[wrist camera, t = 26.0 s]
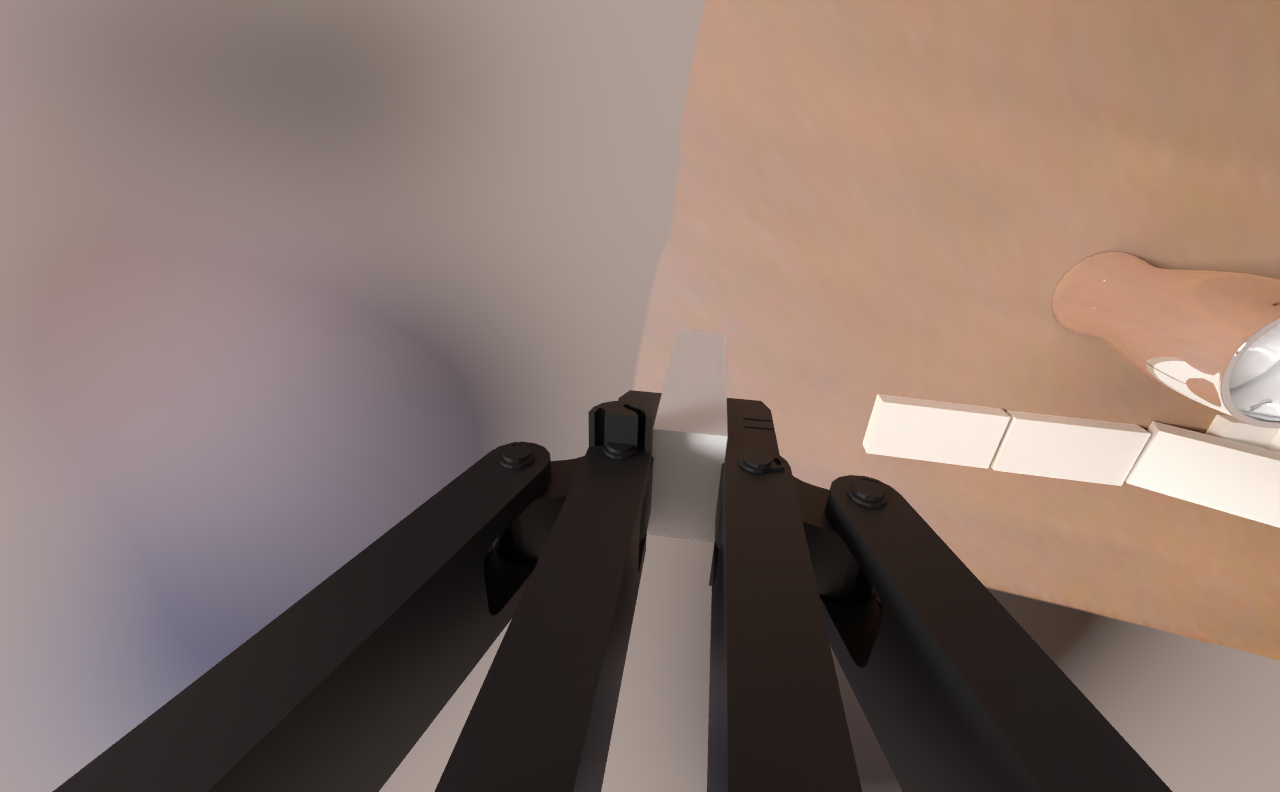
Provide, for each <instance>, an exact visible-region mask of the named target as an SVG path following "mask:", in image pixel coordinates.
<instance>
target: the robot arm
mask: <svg viewBox="0 0 1280 792" xmlns="http://www.w3.org/2000/svg"><path fill="white" fill-rule="evenodd" d="M647 528H648V534H650V535H658V536H666V537H674V538H682V539H691V540H699V541H707V542H714V540H715V543H714V551H713V559H712V567H711V574H710V582H709V585H711V586H712V602H711V642H710V685H709V727H708V728H709V729H708V770H707V792H862V789H861V784H860V780H859V776H858V771H857V766H856V762H855V757H854V753H853V748H852V744H851V739H850V735H849V730H848V726H847V721H846V717H845V712H844V708H843V703H842V698H841V694H840V690H839V685H838V680H837V676H836V671H835V667H834V663H833V657H832V653H831V648H832V650H833V652H834V654H835V656H836V658H837V660H838V662H839V664H840V666H841V668H842V670H843V672H844V674H845V676H846V678H847V680H848V682H849V684H850V686H851V688H852V690H853V692H854V694H855V696H856V698H857V700H858V702H859V704H860V706H861V708H862V710H863V712H864V715H865V717H866V718H867V721H868V723H869V724H870V727H871V729H872V731H873V733H874V735H875V736H876V739H877V741H878V743H879V745H880V747H881V749H882V751H883V753H884V755H885V757H886V759H887V761H888V763H889V765H890V767H891V769H892V771H893V773H894V775H895V777H896V779H897V781H898V783H899V785H900V787H901V789H902V791H903V792H1172V791H1171V790H1170V788H1169V787H1168V786H1167V785H1166V784H1165V783H1164V782H1163V781H1162V780H1161V779H1160V778H1159V776H1158V775H1157V774H1156V773H1155V772H1154V771H1153V770H1152V769H1151V768H1150V767H1149V766H1148V764H1147V763H1146V762H1145V761H1144V760H1143V759H1142V758H1141V757H1140V756H1139V755H1138V754H1137V752H1136V751H1135V750H1134V749H1133V748H1132V747H1131V746H1130V745H1129V744H1128V743H1127V742H1126V741H1125V739H1124V738H1123V737H1122V736H1121V735H1120V734H1119V733H1118V732H1117V731H1116V730H1115V728H1114V727H1113V726H1112V725H1111V724H1110V723H1109V722H1108V721H1107V720H1106V719H1105V718H1104V717H1103V715H1102V714H1101V713H1100V712H1099V711H1098V710H1097V709H1096V708H1095V707H1094V705H1093V704H1092V703H1091V702H1090V701H1089V700H1088V699H1087V698H1086V697H1085V696H1084V694H1083V693H1082V692H1081V691H1080V690H1079V689H1078V688H1077V687H1076V686H1075V685H1074V684H1073V682H1072V681H1071V680H1070V679H1069V678H1068V677H1067V676H1066V675H1065V674H1064V673H1063V672H1062V670H1061V669H1060V668H1058V666H1057V665H1056V664H1055V663H1054V662H1053V661H1052V660H1051V659H1050V657H1049V656H1048V655H1047V654H1046V653H1045V652H1044V651H1043V650H1042V649H1041V648H1040V646H1039V645H1038V644H1037V643H1036V642H1035V641H1034V640H1033V639H1032V638H1031V637H1030V635H1028V633H1027V632H1026V631H1025V630H1024V629H1023V628H1022V627H1021V626H1020V625H1019V623H1018V622H1016V620H1015V619H1014V618H1013V617H1012V616H1011V615H1010V614H1009V613H1008V611H1007V610H1006V609H1005V608H1004V607H1003V606H1002V605H1001V604H1000V603H999V602H998V601H997V599H996V598H995V597H994V596H993V595H992V594H991V593H990V592H989V591H988V590H987V589H986V587H985V586H984V585H983V584H982V583H981V582H980V581H979V580H978V579H977V578H976V576H975V575H974V574H973V573H972V572H971V571H970V570H969V569H968V568H967V567H966V566H965V564H964V563H963V562H962V561H961V560H960V559H959V558H958V557H957V556H956V555H955V554H954V552H953V551H952V550H951V549H950V548H949V547H948V546H947V545H946V544H945V543H944V542H943V540H942V539H941V538H940V537H939V536H938V535H937V534H936V533H935V532H934V531H933V529H932V528H931V527H930V526H929V525H928V524H927V523H926V522H925V521H924V520H923V519H922V517H921V516H920V515H919V514H918V513H917V512H916V511H915V510H914V509H913V508H912V507H911V505H910V504H909V503H908V502H907V501H906V500H905V499H904V498H903V497H902V496H901V495H900V494H899V493H898V492H897V491H896V490H894V489H893V488H892V487H891V486H888V485H886V484H884V483H882V482H880V481H879V480H876V479H873V478H869V477H865V476H853V475H849V476H843V477H839V478H837V479H836V480H834V481H833V482H832V484H831V487H830V490H827V489H824V488H820V487H817V486H814V485H811V484H808V483H805V482H803V481H801V480H799V479H797V478H795V477H794V476H792V472H791V467H790V466H789V464H788V462H787V461H786V460H785V459H784V458H782V457H781V456H780V455H779V450H778V445H777V440H776V434H775V431H774V424H773V419H772V414H771V410H770V409H769V408H768V407H767V406H766V405H765V404H764V403H763V402H761V401H755V400H744V399H733V398H727V394H726V356H725V333H713V332H700V331H687V330H677V334H676V338H675V342H674V346H673V350H672V354H671V358H670V362H669V366H668V371H667V375H666V379H665V383H664V387H663V391H662V393H653V392H642V391H631V390H630V391H628V392H627V393H625V394H624V395H623V396H621V397H620V398H619V399H618V401H612V402H606V403H602V404H599V405H597V406H595V407H593V408H592V409H591V410H590V411H589V448H588V450H587V452H586V455H585V456H583V457H580V458H577V459H570V460H561V461H550V453H549V452H548V451H547V450H546V448H544V447H543V446H540V445H538V444H535V443H527V442H513V443H510V444H506V445H502V446H499V447H498V448H496V449H494V450H492V451H490V452H489V453H488V454H487V455H485V456H484V457H483V458H481V459H480V460H479V461H477V462H476V463H475V464H474V465H472V466H471V467H470V468H468V469H467V470H466V471H465V472H463V473H462V474H461V475H460V476H458V477H457V478H456V479H454V480H453V481H452V482H450V483H449V484H448V485H447V486H445V487H444V488H443V489H442V490H440V491H439V492H438V493H436V494H435V495H434V496H432V497H431V498H430V499H429V500H427V501H426V502H425V503H424V504H422V505H421V506H420V507H418V508H417V509H416V510H415V511H413V512H412V513H411V514H409V515H408V516H407V517H406V518H404V519H403V520H402V521H400V522H399V523H398V524H396V525H395V526H394V527H393V528H391V529H390V530H389V531H387V532H386V533H385V534H384V535H382V536H381V537H380V538H379V539H377V540H376V541H375V542H373V543H372V544H371V545H369V546H368V547H367V548H366V549H364V550H363V551H362V552H360V553H359V554H358V555H357V556H355V557H354V558H353V559H352V560H350V561H349V562H348V563H346V564H345V565H344V566H342V567H341V568H340V569H339V570H337V571H336V572H335V573H333V574H332V575H331V576H330V577H328V578H327V579H326V580H325V581H323V582H322V583H321V584H319V585H318V586H317V587H315V588H314V589H313V590H312V591H310V592H309V593H308V594H306V595H305V596H304V597H303V598H301V599H300V600H299V601H297V602H296V603H295V604H294V605H292V606H291V607H290V608H289V609H287V610H286V611H285V612H283V613H282V614H281V615H279V616H278V617H277V618H276V619H274V620H273V621H272V622H270V623H269V624H268V625H267V626H265V627H264V628H263V629H261V630H260V631H259V632H258V633H256V634H255V635H254V636H252V637H251V638H250V639H249V640H247V641H246V642H245V643H244V644H242V645H241V646H239V647H238V648H237V649H236V650H234V651H233V652H232V653H231V654H229V655H228V656H227V657H226V658H224V659H223V660H222V661H220V662H219V663H218V664H216V665H215V666H214V667H212V668H211V669H210V670H209V671H207V672H206V673H205V674H204V675H202V676H201V677H200V678H198V679H197V680H196V681H195V682H193V683H192V684H191V685H190V686H188V687H187V688H185V689H184V690H183V691H182V692H180V693H179V694H178V695H176V696H175V697H174V698H173V699H171V700H170V701H169V702H167V703H166V704H165V705H164V706H162V707H161V708H160V709H158V710H157V711H156V712H155V713H153V714H152V715H151V716H149V717H148V718H147V719H146V720H145V721H143V722H142V723H141V724H139V725H138V726H137V727H136V728H134V729H133V730H131V731H130V732H129V733H128V734H126V735H125V736H124V737H122V738H121V739H120V740H119V741H118V742H116V743H115V744H113V745H112V746H111V747H110V748H109V749H107V750H106V751H105V752H103V753H102V754H101V755H99V756H98V757H97V758H95V759H94V760H93V761H92V762H90V763H89V764H88V765H86V766H85V767H84V768H83V769H81V770H80V771H79V772H78V773H76V774H75V775H74V776H72V777H71V778H70V779H68V780H67V781H66V782H65V783H63V784H62V785H61V786H59V787H58V788H57V789H56V790H54V791H53V792H379V790H380V789H381V788H382V786H383V785H384V784H385V783H386V781H387V780H388V779H389V778H390V776H391V775H392V774H393V772H394V771H395V770H396V768H397V767H398V766H399V765H400V763H401V762H402V761H403V759H404V758H405V757H406V755H407V754H408V753H409V752H410V750H411V749H412V748H413V746H414V745H415V744H416V742H417V741H418V740H419V738H420V737H421V736H422V735H423V733H424V732H425V731H426V729H427V728H428V727H429V725H430V724H431V723H432V722H433V720H434V719H435V718H436V716H437V715H438V714H439V713H440V711H441V710H442V709H443V707H444V706H445V705H446V703H447V702H448V701H449V700H450V698H451V697H452V695H453V694H454V693H455V692H456V690H457V689H458V688H459V686H460V685H461V684H462V683H463V681H464V680H465V679H466V677H467V676H468V675H469V673H470V672H471V671H472V670H473V668H474V667H475V666H476V664H477V663H478V662H479V660H480V659H481V658H482V657H483V655H484V654H485V653H486V651H487V650H488V649H489V647H490V646H491V645H492V643H493V642H494V641H495V640H496V638H497V637H498V636H499V634H500V633H501V632H502V631H503V629H504V628H505V627H506V625H507V624H508V623H509V621H510V620H511V619H512V620H511V622H510V624H509V627H508V629H507V631H506V633H505V636H504V638H503V640H502V642H501V644H500V647H499V649H498V651H497V653H496V656H495V658H494V660H493V663H492V665H491V667H490V669H489V671H488V674H487V676H486V678H485V680H484V683H483V685H482V687H481V689H480V691H479V694H478V696H477V698H476V701H475V703H474V705H473V707H472V710H471V711H470V714H469V716H468V718H467V720H466V723H465V725H464V727H463V729H462V732H461V734H460V736H459V738H458V741H457V743H456V745H455V747H454V749H453V752H452V754H451V756H450V759H449V761H448V763H447V765H446V767H445V770H444V772H443V774H442V776H441V779H440V781H439V783H438V785H437V788H436V790H435V792H601V789H602V784H603V778H604V773H605V767H606V762H607V756H608V751H609V745H610V740H611V735H612V729H613V724H614V718H615V713H616V708H617V703H618V697H619V691H620V686H621V681H622V676H623V670H624V665H625V659H626V653H627V649H628V643H629V637H630V633H631V627H632V622H633V616H634V611H635V605H636V600H637V595H638V589H639V584H640V579H641V573H642V568H643V562H644V557H645V552H646V536H647ZM830 646H831V648H830Z"/></svg>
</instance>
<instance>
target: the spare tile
mask: <svg viewBox="0 0 1280 792" xmlns="http://www.w3.org/2000/svg"><path fill="white" fill-rule="evenodd" d="M1009 420H1010V416H1009V415H1008V414H1007V413H1005V412H1004V411H1003V410H1002V409H1000V408H992V407H983V406H975V405H966V404H958V403H950V402H941V401H933V400H924V399H916V398H907V397H899V396H891V395H882V394H877V398H876V401H875V404H874V408H873V411H872V414H871V418H870V421H869V424H868V427H867V431H866V434H865V437H864V441H863V446H864V448H865V450H866V452H867V453H870V454H878V455H886V456H894V457H901V458H909V459H917V460H925V461H932V462H940V463H948V464H956V465H963V466H971V467H979V468H987V469H988V467H989V465H990V463H991V460H992V458H993V456H994V454H995V451H996V449H997V447H998V445H999V442H1000V440H1001V438H1002V436H1003V433H1004V431H1005V429H1006V427H1007V424H1008V422H1009Z"/></svg>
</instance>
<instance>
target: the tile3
mask: <svg viewBox="0 0 1280 792" xmlns="http://www.w3.org/2000/svg"><path fill="white" fill-rule="evenodd" d="M1147 431H1148V432H1149V433H1151V435H1150V437H1149V439H1148V440H1147V442H1146V444H1145V446H1144V447H1143V449H1142V451H1141V453H1140V454H1139V456H1138V458H1137V460H1136V461H1135V463H1134V465H1133V467H1132V468H1131V470H1130V472H1129V474H1128V475H1127V477H1126V479H1125V481H1126V483H1128V484H1131V485H1134V486H1138V487H1141V488H1145V489H1148V490H1152V491H1155V492H1158V493H1162V494H1165V495H1169V496H1172V497H1176V498H1179V499H1182V500H1186V501H1189V502H1193V503H1196V504H1200V505H1203V506H1206V507H1210V508H1213V509H1217V510H1220V511H1224V512H1227V513H1231V514H1234V515H1237V516H1241V517H1244V518H1248V519H1251V520H1255V521H1258V522H1261V523H1265V524H1268V525H1272V526H1275V527H1279V528H1280V452H1277V451H1273V450H1269V449H1265V448H1260V447H1256V446H1252V445H1248V444H1244V443H1240V442H1236V441H1232V440H1228V439H1224V438H1220V437H1215V436H1211V435H1207V434H1203V433H1199V432H1195V431H1191V430H1187V429H1183V428H1179V427H1175V426H1170V425H1166V424H1162V423H1158V422H1154V421H1152V423H1151V424H1150V426H1149V428H1148V429H1147Z"/></svg>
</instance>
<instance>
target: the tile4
mask: <svg viewBox="0 0 1280 792" xmlns="http://www.w3.org/2000/svg"><path fill="white" fill-rule="evenodd" d="M1266 449H1269V450H1273V451H1277V452H1280V430H1279V431H1278V433H1277V434H1276V435H1275V437H1274V438H1273V440H1272V441H1271V442H1270V444H1269V445H1268V447H1267V448H1266Z"/></svg>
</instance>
